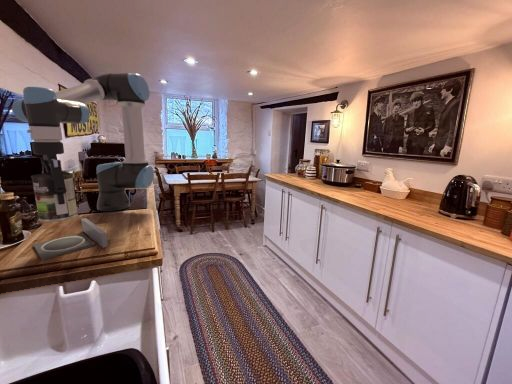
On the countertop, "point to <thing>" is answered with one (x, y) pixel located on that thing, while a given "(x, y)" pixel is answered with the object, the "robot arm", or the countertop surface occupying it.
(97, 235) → the low wall
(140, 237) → the countertop surface
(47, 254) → the mat
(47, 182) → the coffee can
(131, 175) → the robot arm
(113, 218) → the countertop surface
